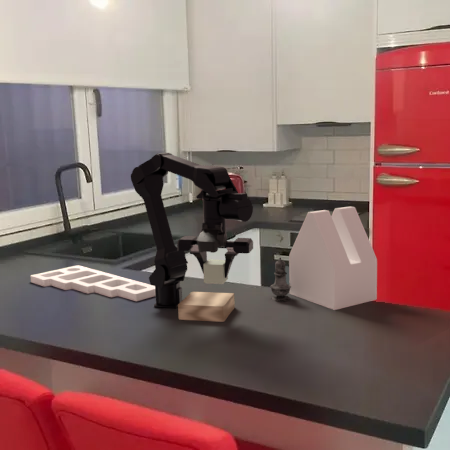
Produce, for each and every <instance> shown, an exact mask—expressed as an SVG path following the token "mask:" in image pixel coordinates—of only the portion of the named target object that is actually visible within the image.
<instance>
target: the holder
mask: <svg viewBox="0 0 450 450" xmlns="http://www.w3.org/2000/svg"><path fill="white" fill-rule="evenodd" d="M30 283H33V284H35V285H37V286H42V287H44V288H45V287H50V286H53V287H55V288H58V289H60V290H64V291H67V290H75V291H79V292H81V293H83V294H92V293H96V294H99V295H102V296H105V297H109V298H114V297H120V298H123V299H128V300H131V301H134V302H139V301H143V300H145V299H149V298H152V297H156V294H155V286H153V285H151V284H150V283H145V282H141V281H138V280H134V279H130V278H127V277H122V276H119V275H116V274H113V273H108V272H106V271H105V272H104V271H101V270H98V269H94V268H89V267H86V266H82V265H79V264H77V265H72V266H68V267H62V268H59V269H54V270H49V271H44V272H41V273H36V274H31V275H30Z"/></svg>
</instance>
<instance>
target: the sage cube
mask: <svg viewBox="0 0 450 450" xmlns="http://www.w3.org/2000/svg"><path fill="white" fill-rule="evenodd" d="M203 266H204V274H203V284H208V285H209V284H211V285H214V284H215V285H224V284H225V283H226V282H227V280H228V279H229V278H228V277H229V276H227V278H225V273H224V271H225V259H212V258H211V259H207V261H206V262H205V263H204V264H203Z"/></svg>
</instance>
